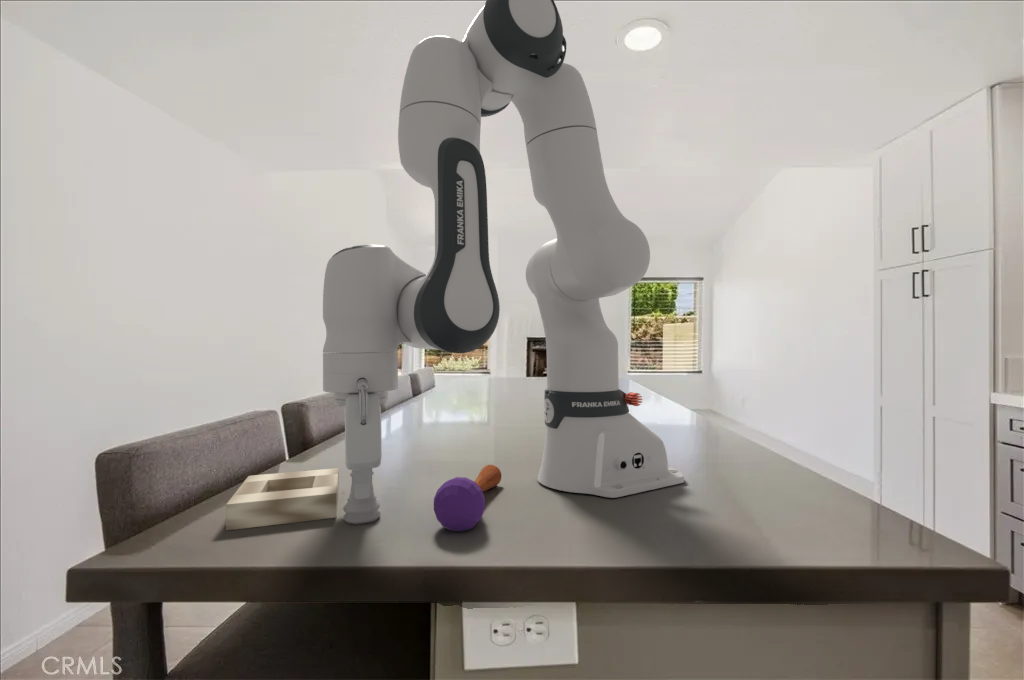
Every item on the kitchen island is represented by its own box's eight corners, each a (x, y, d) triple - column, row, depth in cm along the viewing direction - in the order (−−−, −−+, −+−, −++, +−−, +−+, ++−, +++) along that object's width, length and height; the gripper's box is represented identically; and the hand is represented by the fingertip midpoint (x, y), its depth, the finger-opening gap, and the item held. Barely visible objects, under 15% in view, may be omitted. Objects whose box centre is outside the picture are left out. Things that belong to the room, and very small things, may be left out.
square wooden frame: (338, 488, 71) (338, 468, 71) (336, 517, 59) (336, 493, 59) (248, 496, 67) (248, 475, 67) (226, 530, 55) (226, 504, 55)
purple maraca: (513, 460, 72) (482, 490, 52) (505, 500, 71) (472, 544, 52) (476, 451, 73) (432, 477, 53) (468, 490, 72) (421, 530, 53)
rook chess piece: (369, 526, 56) (369, 458, 56) (335, 524, 57) (335, 457, 57) (387, 513, 60) (386, 450, 60) (355, 511, 61) (354, 449, 61)
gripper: (394, 381, 50) (395, 513, 50) (382, 371, 69) (382, 466, 69) (330, 383, 48) (331, 520, 48) (336, 372, 67) (336, 470, 67)
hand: (361, 488), depth 58 cm, fingers open, 5 cm apart
